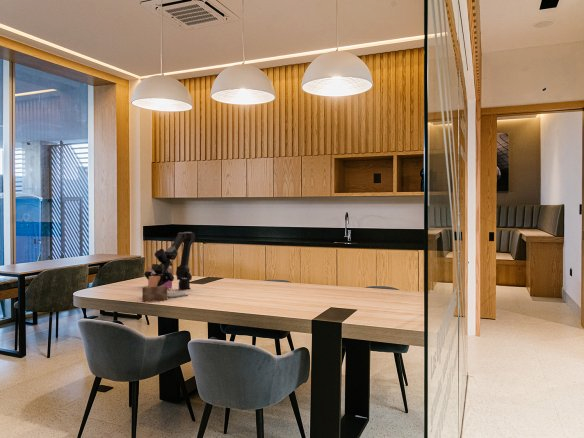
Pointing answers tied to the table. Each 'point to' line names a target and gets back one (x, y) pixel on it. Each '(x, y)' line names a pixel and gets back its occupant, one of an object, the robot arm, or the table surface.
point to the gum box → (168, 284)
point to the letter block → (154, 281)
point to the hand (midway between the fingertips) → (153, 287)
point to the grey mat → (176, 294)
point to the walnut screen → (154, 293)
